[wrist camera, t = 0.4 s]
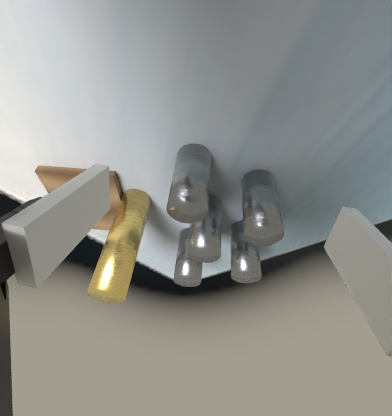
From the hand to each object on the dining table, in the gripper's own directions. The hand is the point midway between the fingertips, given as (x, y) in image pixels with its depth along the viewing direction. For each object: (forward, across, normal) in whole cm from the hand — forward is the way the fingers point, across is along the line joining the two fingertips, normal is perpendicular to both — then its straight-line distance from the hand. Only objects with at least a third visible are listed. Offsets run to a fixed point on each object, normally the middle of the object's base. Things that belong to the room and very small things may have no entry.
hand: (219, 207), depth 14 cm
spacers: (+19, +1, -9) cm, 21 cm away
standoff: (+18, -11, -10) cm, 23 cm away
